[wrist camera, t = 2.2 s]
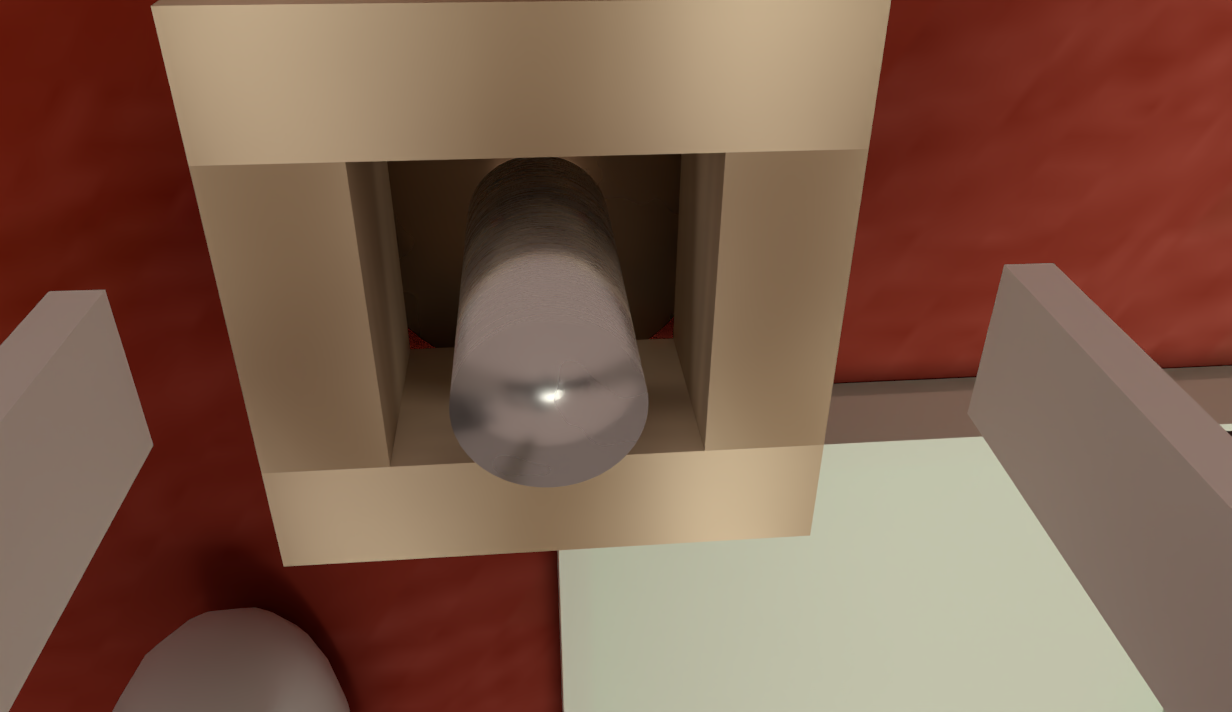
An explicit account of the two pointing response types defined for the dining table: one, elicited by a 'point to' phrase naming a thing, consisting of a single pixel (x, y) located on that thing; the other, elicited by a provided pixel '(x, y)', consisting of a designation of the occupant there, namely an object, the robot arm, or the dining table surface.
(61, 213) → the dining table surface
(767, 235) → the wooden square frame
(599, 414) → the cylinder
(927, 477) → the sage tray
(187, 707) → the donut
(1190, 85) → the dining table surface
